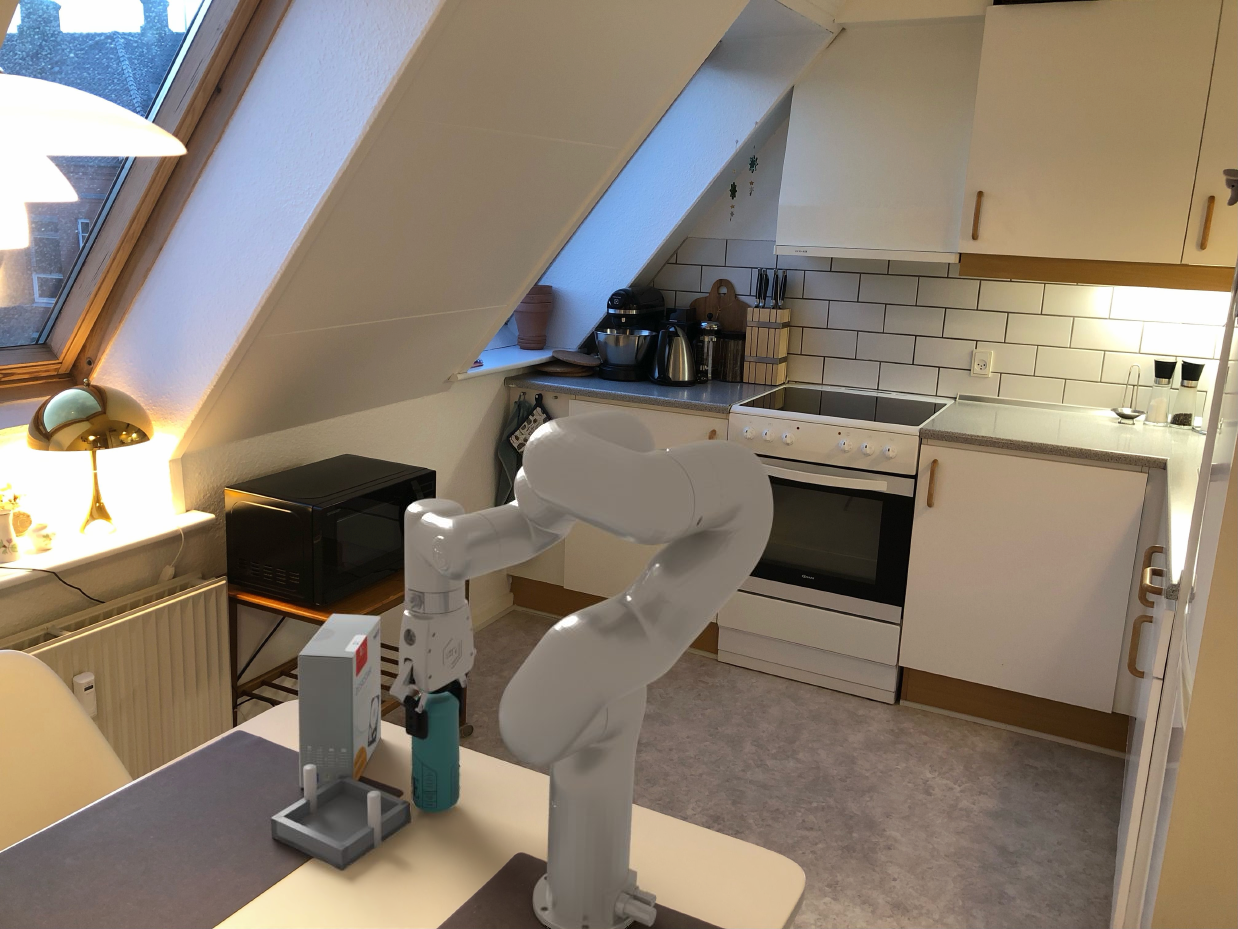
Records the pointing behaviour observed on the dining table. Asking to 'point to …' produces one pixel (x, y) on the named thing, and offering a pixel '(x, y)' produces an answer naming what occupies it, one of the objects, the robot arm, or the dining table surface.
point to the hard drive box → (340, 697)
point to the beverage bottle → (437, 755)
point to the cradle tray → (339, 819)
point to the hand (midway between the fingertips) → (435, 723)
